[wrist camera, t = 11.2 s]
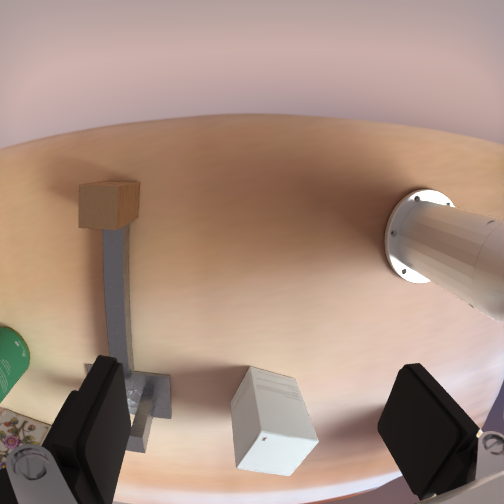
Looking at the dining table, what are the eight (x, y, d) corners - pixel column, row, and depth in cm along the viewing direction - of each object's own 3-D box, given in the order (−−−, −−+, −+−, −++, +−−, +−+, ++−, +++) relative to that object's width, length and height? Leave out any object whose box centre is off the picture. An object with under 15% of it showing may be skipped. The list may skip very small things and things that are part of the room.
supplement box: (228, 402, 43) (232, 469, 31) (249, 364, 41) (260, 430, 29) (274, 414, 44) (289, 478, 32) (298, 378, 43) (321, 441, 31)
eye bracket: (169, 375, 41) (159, 426, 31) (171, 416, 43) (164, 466, 33) (88, 363, 40) (62, 408, 30) (96, 405, 41) (76, 450, 32)
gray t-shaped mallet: (140, 182, 34) (118, 186, 27) (140, 366, 40) (128, 403, 32) (107, 181, 34) (79, 184, 26) (113, 362, 40) (96, 397, 32)
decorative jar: (54, 424, 42) (18, 498, 25) (67, 463, 45) (42, 530, 27) (2, 406, 41) (-40, 468, 23) (18, 445, 43) (-13, 505, 26)
